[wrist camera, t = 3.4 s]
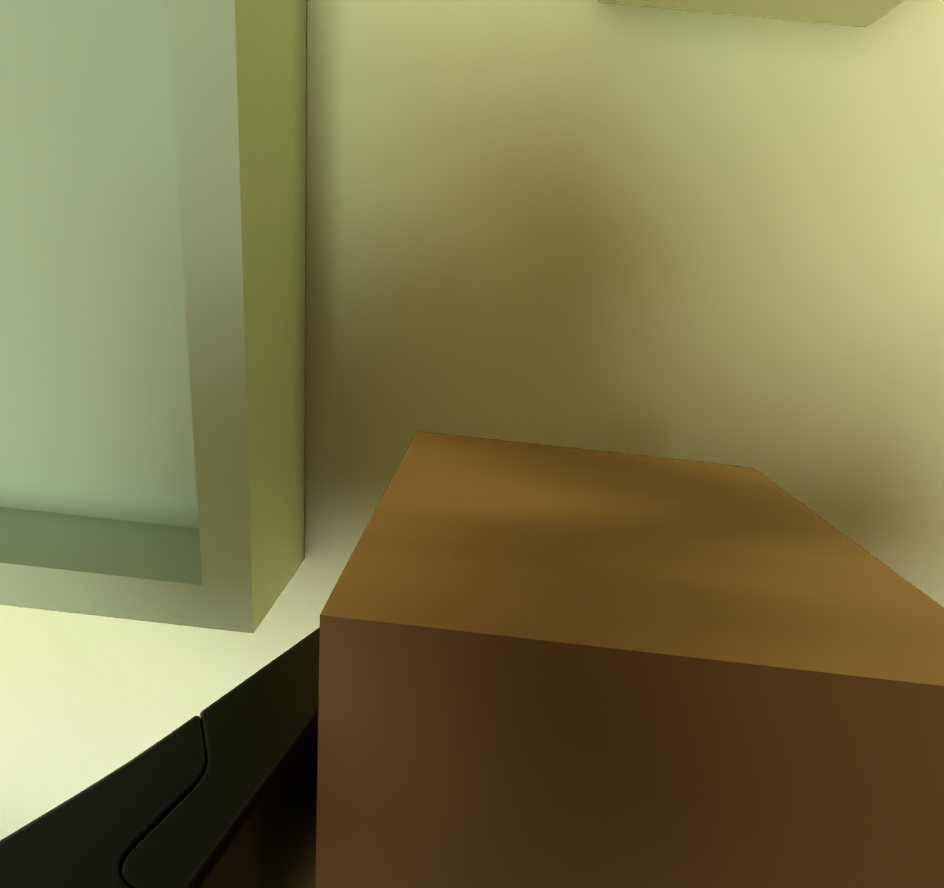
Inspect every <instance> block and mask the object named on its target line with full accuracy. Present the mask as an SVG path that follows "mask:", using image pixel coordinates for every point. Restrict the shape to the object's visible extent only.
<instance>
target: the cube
mask: <svg viewBox="0 0 944 888" xmlns="http://www.w3.org/2000/svg"><path fill="white" fill-rule="evenodd" d="M903 1H904V0H598V2H605V3H616V4H626V5H637V6H647V7H658V8H668V9H679V10H689V11H699V12H710V13H720V14H731V15H741V16H752V17H762V18H773V19H783V20H794V21H804V22H815V23H825V24H836V25H846V26H856V27H866V26H868V25H869V24H871V23H872V22H874V21H875V20H877V19H878V18H880V17H881V16H882V15H884V14H885V13H887V12H888V11H890V10H891V9H893V8H894V7H896V6H897V5H898V4H900V3H901V2H903Z"/></svg>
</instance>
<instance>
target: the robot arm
mask: <svg viewBox="0 0 944 888" xmlns="http://www.w3.org/2000/svg"><path fill="white" fill-rule="evenodd" d="M319 644H320V628H318V629H317V630H315V631H314V632H312V633H311V634H310V635H308V636H307V637H305V638H304V639H303V640H301V641H300V642H298V643H297V644H296V645H294V646H293V647H291V648H290V649H289V650H287V651H286V652H284V653H283V654H282V655H280V656H279V657H277V658H276V659H275V660H273V661H272V662H270V663H269V664H268V665H266V666H265V667H263V668H262V669H261V670H259V671H258V672H256V673H255V674H254V675H252V676H251V677H249V678H248V679H247V680H245V681H244V682H242V683H241V684H239V685H238V686H237V687H235V688H234V689H232V690H231V691H230V692H228V693H227V694H225V695H224V696H223V697H221V698H220V699H218V700H217V701H216V702H214V703H213V704H211V705H210V706H209V707H207V708H206V709H204V710H203V711H202V712H201V713H200V717H199V716H194V717H193V718H191V719H190V720H189V721H187V722H186V723H184V724H183V725H182V726H180V727H179V728H177V729H176V730H175V731H173V732H172V733H170V734H169V735H167V736H166V737H164V738H163V739H162V740H160V741H159V742H157V743H156V744H154V745H153V746H151V747H150V748H148V749H147V750H145V751H144V752H142V753H141V754H139V755H138V756H137V757H135V758H134V759H132V760H131V761H129V762H128V763H126V764H125V765H123V766H121V767H120V768H118V769H117V770H115V771H113V772H112V773H110V774H109V775H107V776H105V777H104V778H102V779H101V780H99V781H97V782H96V783H94V784H93V785H91V786H89V787H88V788H86V789H85V790H83V791H81V792H80V793H78V794H77V795H75V796H74V797H72V798H70V799H69V800H67V801H65V802H64V803H62V804H60V805H59V806H57V807H55V808H54V809H52V810H50V811H49V812H47V813H45V814H44V815H42V816H40V817H39V818H37V819H35V820H34V821H32V822H30V823H29V824H27V825H25V826H24V827H22V828H20V829H19V830H17V831H15V832H14V833H12V834H11V835H9V836H7V837H6V838H4V839H2V840H1V841H0V888H316V827H317V766H318V705H319Z"/></svg>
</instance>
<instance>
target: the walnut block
mask: <svg viewBox="0 0 944 888" xmlns="http://www.w3.org/2000/svg"><path fill="white" fill-rule="evenodd" d="M316 888H944V608H943V607H942V606H940V605H939V604H938V603H936V602H935V601H934V600H932V599H931V598H930V597H928V596H927V595H925V594H924V593H923V592H921V591H920V590H919V589H917V588H916V587H915V586H913V585H912V584H910V583H909V582H908V581H906V580H905V579H904V578H902V577H901V576H900V575H898V574H897V573H895V572H894V571H893V570H891V569H890V568H889V567H887V566H886V565H885V564H883V563H882V562H880V561H879V560H878V559H876V558H875V557H874V556H872V555H871V554H870V553H868V552H867V551H865V550H864V549H863V548H861V547H860V546H859V545H857V544H856V543H855V542H853V541H852V540H850V539H849V538H848V537H846V536H845V535H844V534H842V533H841V532H840V531H838V530H837V529H835V528H834V527H833V526H831V525H830V524H829V523H827V522H826V521H825V520H823V519H822V518H820V517H819V516H818V515H816V514H815V513H814V512H812V511H811V510H809V509H808V508H807V507H805V506H804V505H803V504H801V503H800V502H799V501H797V500H796V499H794V498H793V497H792V496H790V495H789V494H788V493H786V492H785V491H784V490H782V489H781V488H779V487H778V486H777V485H775V484H774V483H773V482H771V481H770V480H769V479H767V478H766V477H764V476H763V475H762V474H760V473H759V472H758V471H756V470H755V469H754V468H749V467H740V466H731V465H722V464H713V463H703V462H694V461H685V460H676V459H667V458H658V457H648V456H639V455H630V454H621V453H612V452H602V451H593V450H584V449H575V448H566V447H557V446H547V445H538V444H529V443H520V442H511V441H501V440H492V439H483V438H474V437H465V436H456V435H446V434H437V433H428V432H419V431H417V433H416V435H415V436H414V438H413V440H412V442H411V444H410V446H409V448H408V450H407V452H406V453H405V455H404V457H403V459H402V461H401V463H400V465H399V467H398V469H397V470H396V472H395V474H394V476H393V478H392V480H391V482H390V484H389V486H388V487H387V489H386V491H385V493H384V495H383V497H382V499H381V501H380V503H379V504H378V506H377V508H376V510H375V512H374V514H373V516H372V518H371V520H370V521H369V523H368V525H367V527H366V529H365V531H364V533H363V535H362V537H361V538H360V540H359V542H358V544H357V546H356V548H355V550H354V552H353V553H352V555H351V557H350V559H349V561H348V563H347V565H346V567H345V569H344V570H343V572H342V574H341V576H340V578H339V580H338V582H337V584H336V586H335V587H334V589H333V591H332V593H331V595H330V597H329V599H328V601H327V603H326V604H325V606H324V608H323V610H322V612H321V614H320V644H319V705H318V766H317V827H316Z"/></svg>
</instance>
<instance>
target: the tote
mask: <svg viewBox="0 0 944 888" xmlns="http://www.w3.org/2000/svg"><path fill="white" fill-rule="evenodd" d="M306 34H307V0H0V605H8V606H17V607H26V608H35V609H44V610H52V611H61V612H70V613H79V614H88V615H97V616H105V617H114V618H123V619H132V620H141V621H150V622H158V623H167V624H176V625H185V626H194V627H203V628H212V629H220V630H229V631H238V632H247V633H254V631H255V630H256V629H257V627H258V626H259V624H260V623H261V621H262V620H263V618H264V617H265V615H266V614H267V613H268V611H269V610H270V608H271V607H272V605H273V604H274V602H275V601H276V600H277V598H278V597H279V595H280V594H281V592H282V591H283V589H284V588H285V586H286V585H287V584H288V582H289V581H290V579H291V578H292V576H293V575H294V573H295V572H296V570H297V569H298V568H299V566H300V565H301V563H302V562H303V560H304V473H305V253H306Z"/></svg>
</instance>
